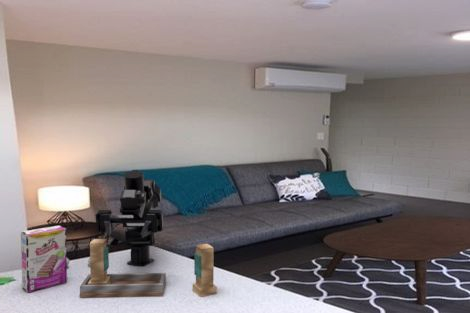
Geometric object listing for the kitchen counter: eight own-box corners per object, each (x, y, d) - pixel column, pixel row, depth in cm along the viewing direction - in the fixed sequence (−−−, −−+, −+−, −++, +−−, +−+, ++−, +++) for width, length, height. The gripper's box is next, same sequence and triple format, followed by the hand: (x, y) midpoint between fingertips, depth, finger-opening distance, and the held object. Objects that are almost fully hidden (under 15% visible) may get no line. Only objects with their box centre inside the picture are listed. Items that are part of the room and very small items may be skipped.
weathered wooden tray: (79, 297, 116) (78, 246, 115) (89, 283, 126) (88, 236, 125) (162, 296, 117) (162, 245, 116) (166, 282, 127) (165, 235, 126)
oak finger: (208, 287, 124) (208, 242, 123) (216, 293, 119) (216, 247, 118) (192, 290, 121) (192, 245, 120) (200, 297, 117) (200, 250, 116)
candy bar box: (28, 293, 118) (25, 234, 117) (21, 288, 122) (19, 231, 120) (68, 282, 126) (66, 227, 125) (61, 278, 130) (59, 224, 128)
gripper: (100, 184, 129) (86, 210, 114) (163, 184, 130) (157, 210, 115) (103, 217, 133) (90, 246, 118) (165, 217, 134) (159, 245, 119)
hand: (124, 236), depth 118 cm, fingers open, 9 cm apart
